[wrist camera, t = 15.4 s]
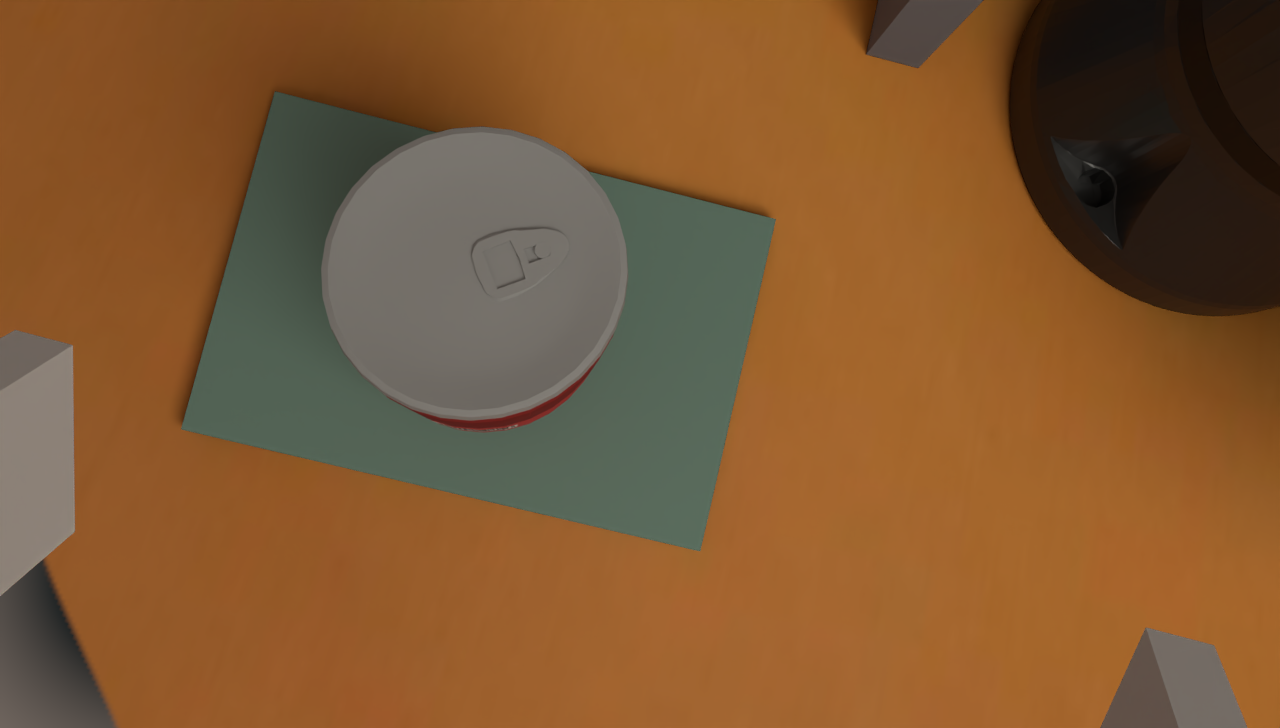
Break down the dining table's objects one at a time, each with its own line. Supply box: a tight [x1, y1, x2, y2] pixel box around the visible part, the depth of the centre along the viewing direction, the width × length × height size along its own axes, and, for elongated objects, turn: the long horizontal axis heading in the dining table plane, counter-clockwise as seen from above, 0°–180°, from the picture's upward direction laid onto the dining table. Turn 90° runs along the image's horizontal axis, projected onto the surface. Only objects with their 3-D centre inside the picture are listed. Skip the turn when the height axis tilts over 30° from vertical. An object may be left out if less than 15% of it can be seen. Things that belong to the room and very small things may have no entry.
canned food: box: [321, 127, 628, 432], centre depth 37 cm, size 8×8×11 cm
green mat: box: [181, 91, 776, 551], centre depth 42 cm, size 18×12×1 cm, turn 77°
